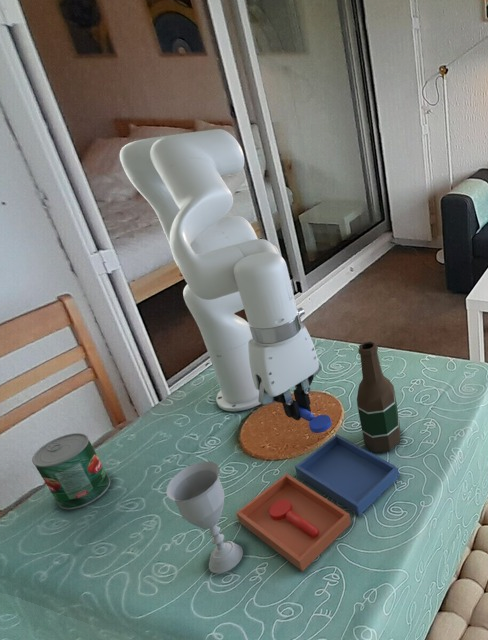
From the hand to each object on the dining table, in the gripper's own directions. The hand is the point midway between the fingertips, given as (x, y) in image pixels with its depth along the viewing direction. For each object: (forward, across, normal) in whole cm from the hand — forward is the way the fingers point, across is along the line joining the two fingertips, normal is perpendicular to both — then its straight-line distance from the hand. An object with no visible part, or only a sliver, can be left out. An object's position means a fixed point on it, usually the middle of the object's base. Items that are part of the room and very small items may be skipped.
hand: (299, 413), depth 90 cm
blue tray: (+16, -3, +6) cm, 17 cm away
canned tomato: (+15, +26, -34) cm, 45 cm away
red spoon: (+15, +9, +6) cm, 18 cm away
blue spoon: (0, 0, +2) cm, 2 cm away
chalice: (+16, +19, +2) cm, 25 cm away
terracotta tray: (+16, +9, +6) cm, 19 cm away
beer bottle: (+16, -14, +4) cm, 21 cm away
